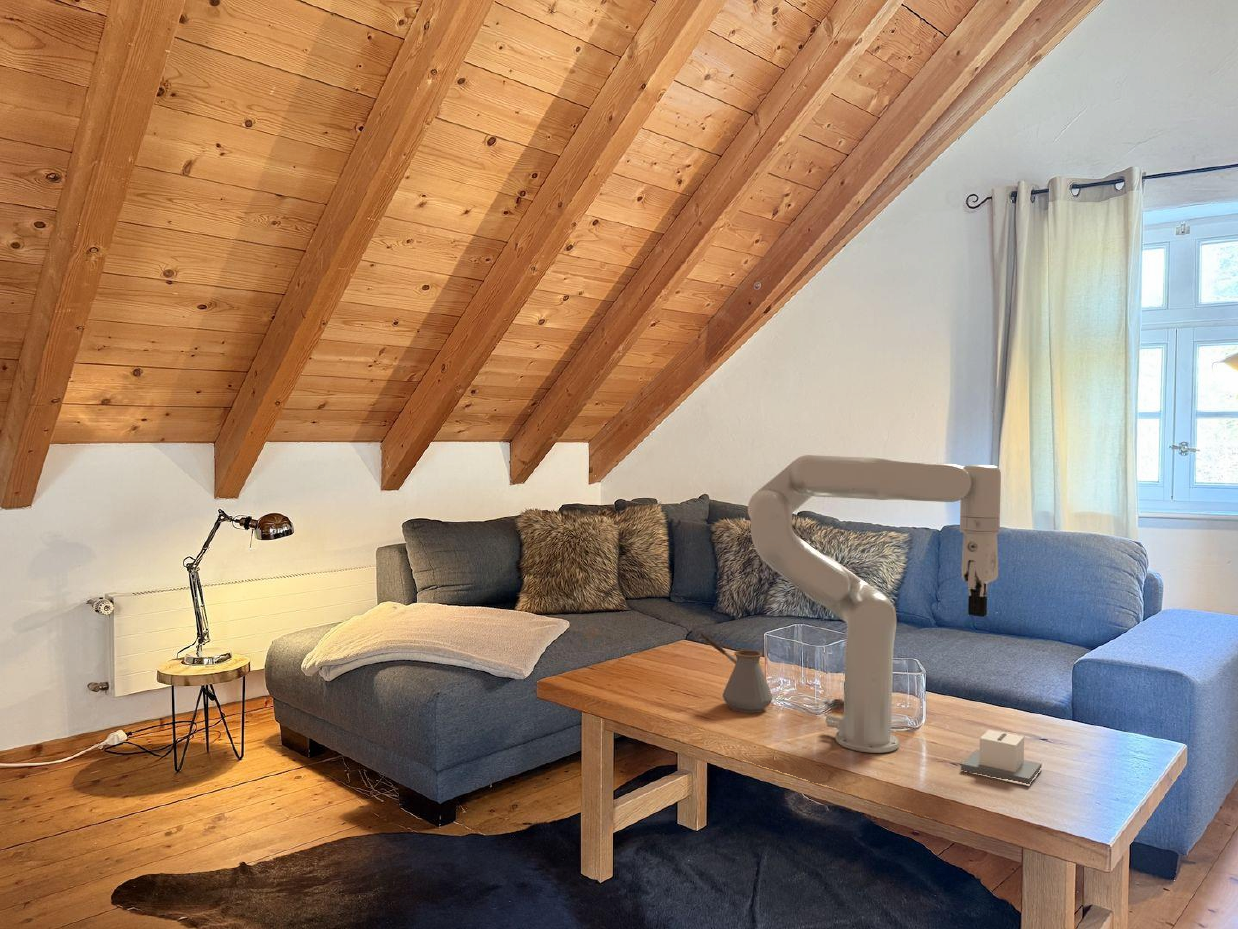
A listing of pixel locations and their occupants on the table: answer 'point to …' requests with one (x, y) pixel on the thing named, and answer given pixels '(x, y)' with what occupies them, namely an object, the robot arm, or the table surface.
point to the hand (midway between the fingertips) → (977, 615)
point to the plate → (1021, 775)
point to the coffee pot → (745, 681)
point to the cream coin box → (1001, 750)
